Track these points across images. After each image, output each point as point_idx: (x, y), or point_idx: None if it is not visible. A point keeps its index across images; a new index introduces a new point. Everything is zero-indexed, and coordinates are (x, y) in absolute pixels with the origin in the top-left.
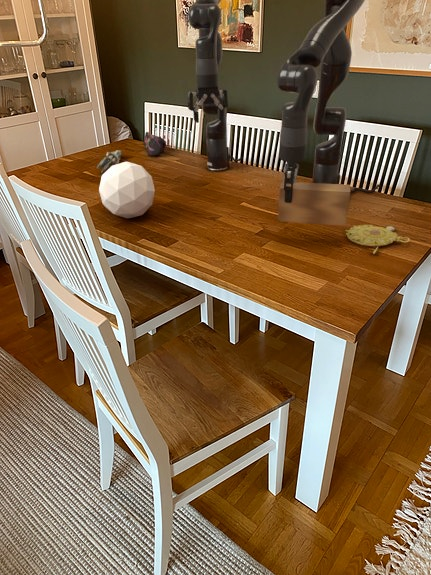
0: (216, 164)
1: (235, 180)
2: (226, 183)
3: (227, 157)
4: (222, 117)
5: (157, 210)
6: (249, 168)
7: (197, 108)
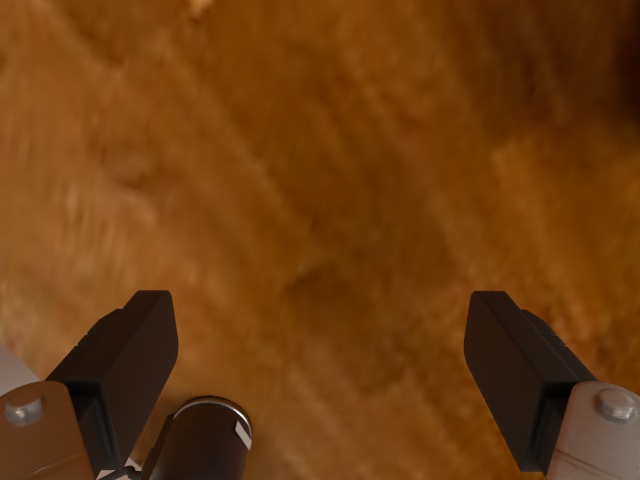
0: (217, 420)
1: (172, 285)
2: (217, 266)
3: (158, 450)
4: (104, 319)
5: (594, 60)
6: None
7: (604, 433)
